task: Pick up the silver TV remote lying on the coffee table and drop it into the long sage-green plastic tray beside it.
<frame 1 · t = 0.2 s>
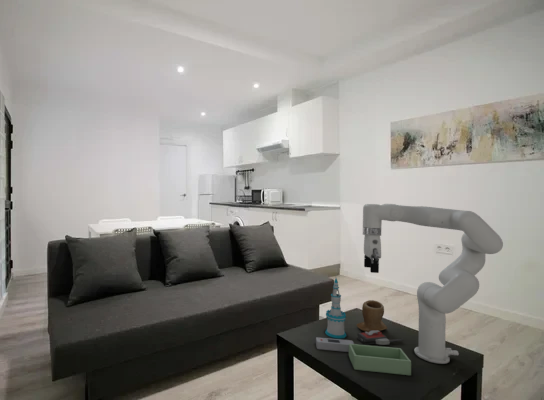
hand: (371, 269, 132), 36 cm above the table, tool pointing down, fingers open, 9 cm apart
model tower: (335, 334, 149), on the table
tray: (378, 365, 121), on the table
walkie-talkie: (379, 341, 141), on the table
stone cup: (373, 330, 153), on the table
remote: (334, 348, 135), on the table
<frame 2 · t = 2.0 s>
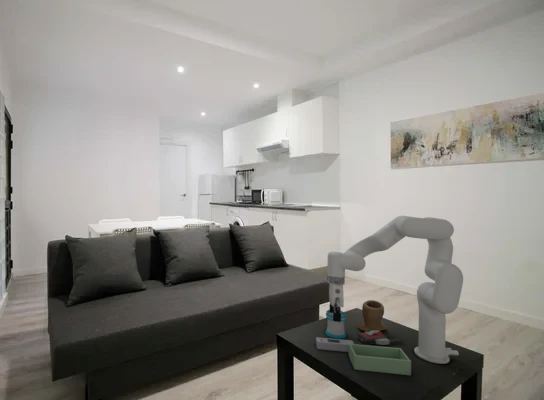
hand: (334, 316, 135), 14 cm above the table, tool pointing down, fingers open, 9 cm apart
nothing on the table moved.
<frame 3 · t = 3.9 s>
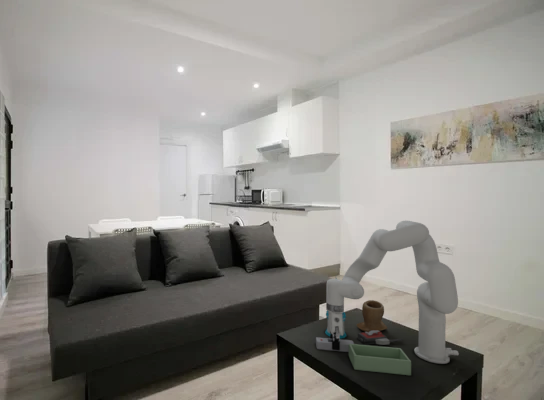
hand: (334, 346, 135), 1 cm above the table, tool pointing down, fingers closed on remote, 4 cm apart
remote: (334, 348, 135), on the table, touching gripper
everything else where it was.
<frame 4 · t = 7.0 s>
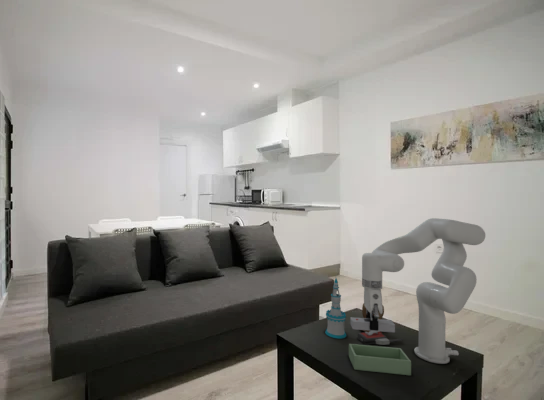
hand: (372, 326, 123), 15 cm above the table, tool pointing down, fingers closed on remote, 4 cm apart
remote: (372, 328, 123), point 14 cm above the table, touching gripper
everything else where it was.
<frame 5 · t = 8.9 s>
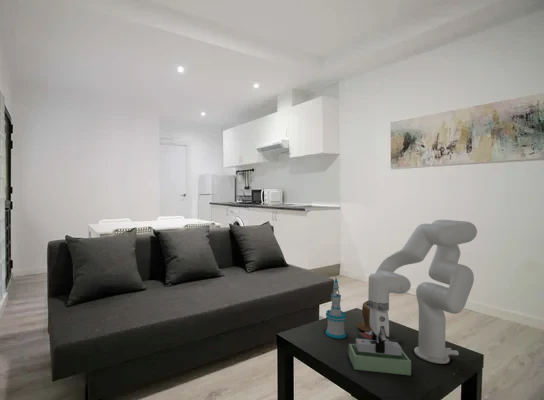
hand: (377, 348, 121), 7 cm above the table, tool pointing down, fingers closed on remote, 4 cm apart
remote: (377, 350, 121), point 6 cm above the table, touching gripper
everything else where it was.
when the fingers open (4 cm above the table, at t = 10.4 s): remote stays where it is, resting on tray.
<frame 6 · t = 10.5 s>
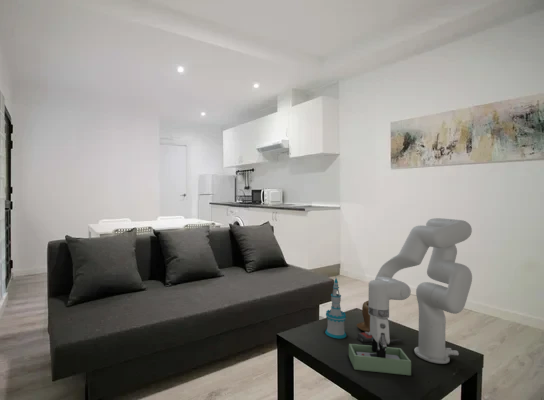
hand: (378, 355, 121), 4 cm above the table, tool pointing down, fingers open, 5 cm apart
remote: (378, 364, 121), resting on tray
everything else where it was.
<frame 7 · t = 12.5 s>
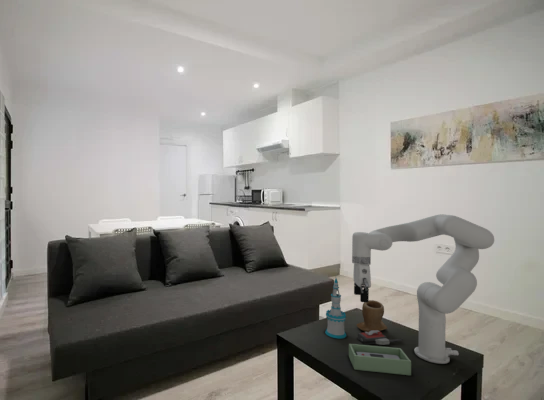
hand: (360, 298, 132), 24 cm above the table, tool pointing down, fingers open, 9 cm apart
nothing on the table moved.
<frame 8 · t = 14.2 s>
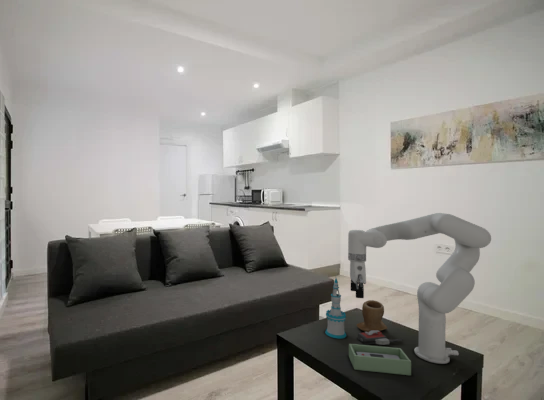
hand: (356, 294, 135), 24 cm above the table, tool pointing down, fingers open, 9 cm apart
nothing on the table moved.
at the end: remote inside the target area in the tray (0.1 cm from its centre), point 0.5 cm above the tray's base; the gripper is holding nothing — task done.
